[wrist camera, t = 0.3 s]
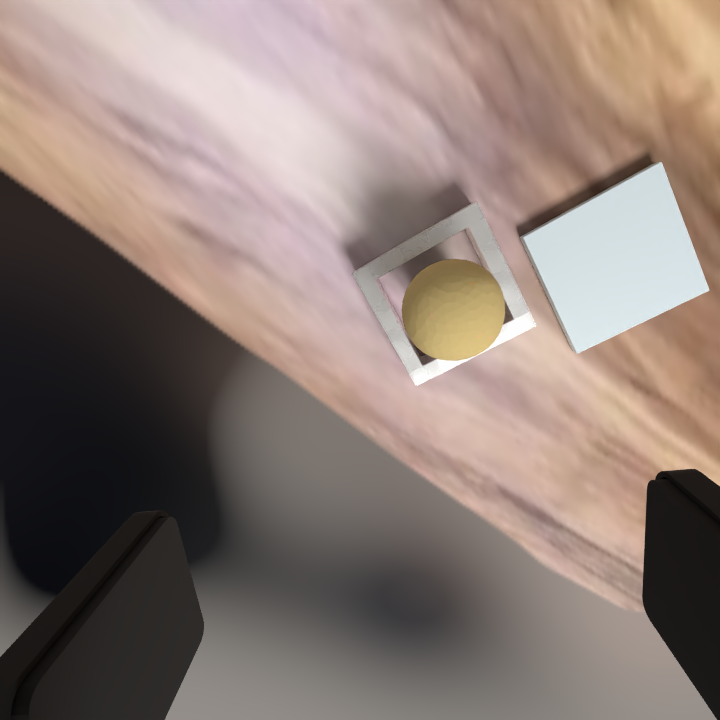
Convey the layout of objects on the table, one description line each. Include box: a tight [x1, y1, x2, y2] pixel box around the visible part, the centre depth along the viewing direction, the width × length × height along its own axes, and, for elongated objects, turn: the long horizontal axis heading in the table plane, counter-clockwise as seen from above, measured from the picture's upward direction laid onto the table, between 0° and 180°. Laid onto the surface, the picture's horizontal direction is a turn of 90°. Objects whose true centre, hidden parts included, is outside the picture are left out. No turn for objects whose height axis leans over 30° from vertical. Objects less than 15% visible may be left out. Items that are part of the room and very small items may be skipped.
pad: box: [520, 162, 709, 354], centre depth 33 cm, size 10×10×1 cm
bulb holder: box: [352, 202, 537, 386], centre depth 34 cm, size 10×10×2 cm
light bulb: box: [402, 259, 505, 361], centre depth 30 cm, size 6×6×10 cm
